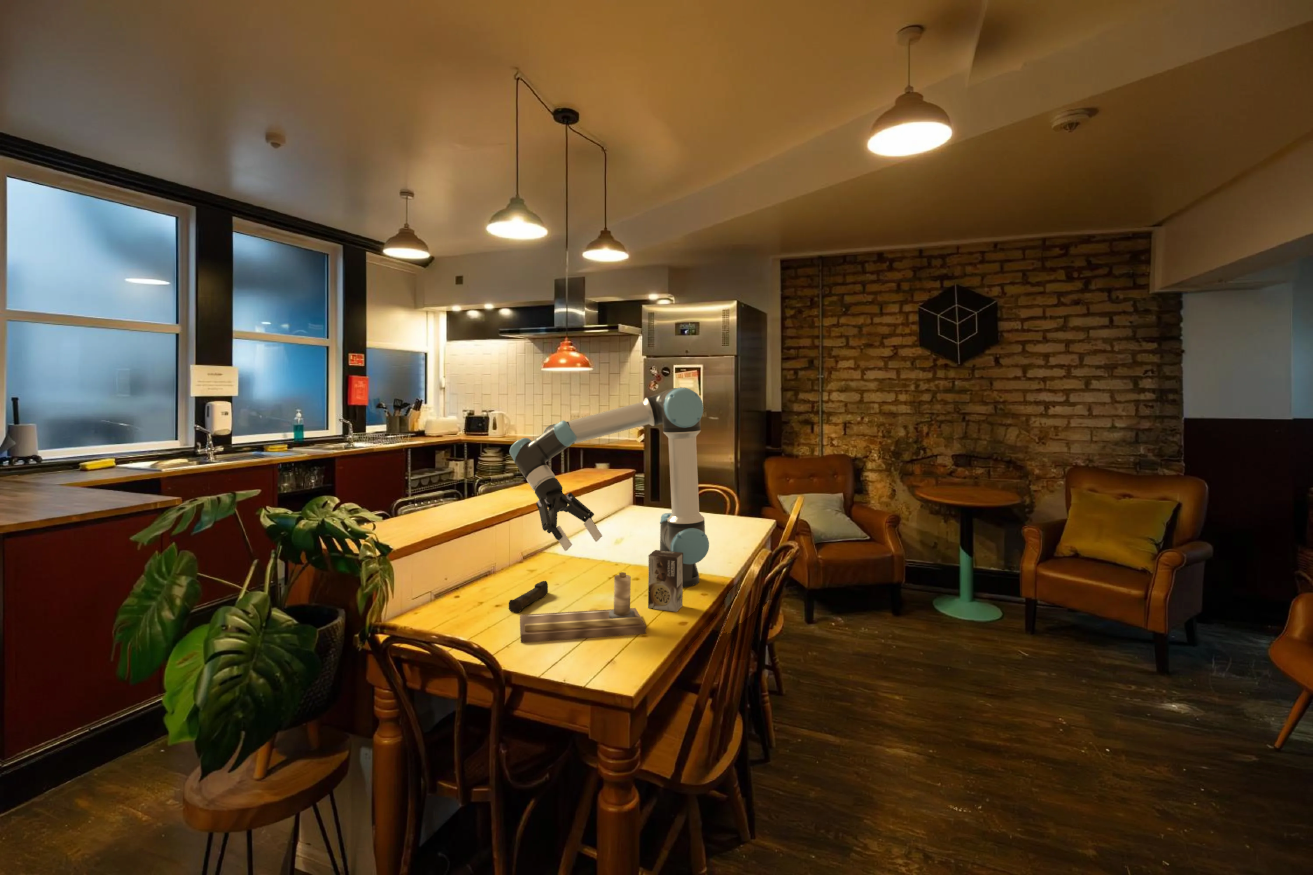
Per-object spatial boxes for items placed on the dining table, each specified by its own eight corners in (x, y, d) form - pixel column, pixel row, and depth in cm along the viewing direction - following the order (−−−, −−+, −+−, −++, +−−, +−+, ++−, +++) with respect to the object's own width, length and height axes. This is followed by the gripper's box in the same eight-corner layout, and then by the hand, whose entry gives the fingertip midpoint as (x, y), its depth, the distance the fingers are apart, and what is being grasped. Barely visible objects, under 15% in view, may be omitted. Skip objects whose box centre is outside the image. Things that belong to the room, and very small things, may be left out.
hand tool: (519, 614, 174) (520, 598, 174) (507, 612, 176) (508, 596, 176) (555, 595, 192) (555, 580, 192) (544, 593, 193) (544, 578, 193)
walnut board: (635, 614, 175) (635, 602, 175) (645, 633, 162) (646, 620, 162) (519, 621, 168) (519, 609, 168) (520, 642, 154) (520, 628, 154)
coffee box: (683, 605, 184) (684, 552, 183) (676, 612, 178) (678, 557, 177) (654, 601, 187) (655, 548, 186) (646, 608, 181) (648, 554, 180)
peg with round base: (631, 611, 173) (632, 568, 172) (637, 620, 166) (637, 576, 165) (607, 612, 171) (607, 570, 170) (611, 621, 164) (611, 577, 163)
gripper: (565, 487, 193) (603, 542, 186) (507, 497, 171) (546, 560, 165) (579, 472, 189) (618, 527, 183) (521, 480, 168) (562, 543, 161)
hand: (584, 543), depth 174 cm, fingers open, 13 cm apart
